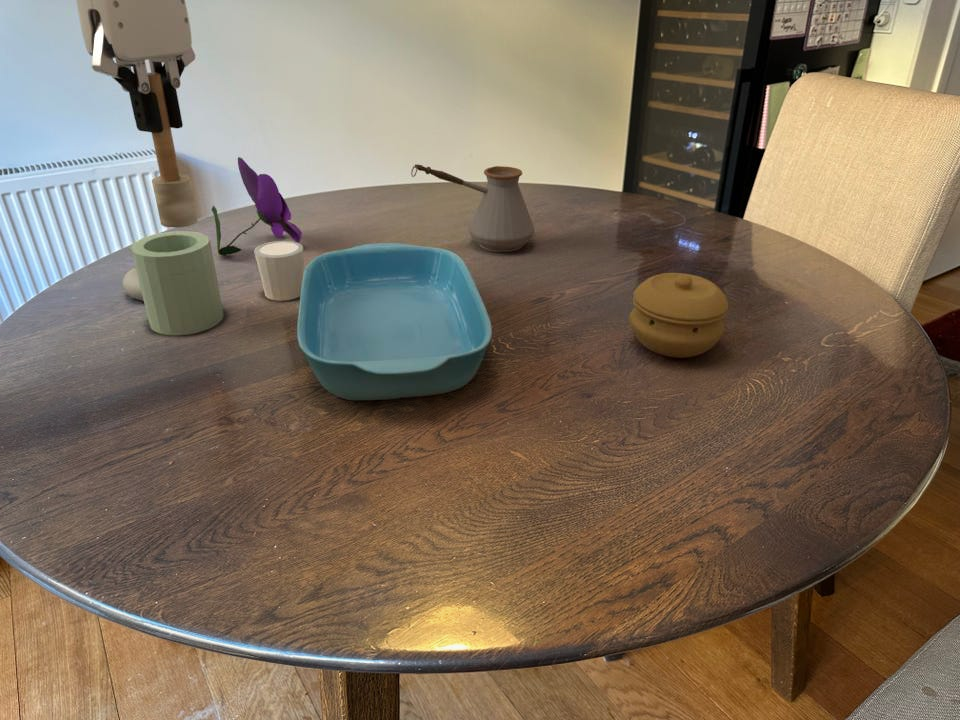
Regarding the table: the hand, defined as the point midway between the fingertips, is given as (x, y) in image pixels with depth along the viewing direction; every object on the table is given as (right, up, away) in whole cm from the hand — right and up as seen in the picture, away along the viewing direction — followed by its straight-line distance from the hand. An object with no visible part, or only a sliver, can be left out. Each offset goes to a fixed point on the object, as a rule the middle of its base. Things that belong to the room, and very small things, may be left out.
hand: (160, 127), depth 76 cm
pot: (+60, -24, +15) cm, 66 cm away
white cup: (+6, -15, +28) cm, 33 cm away
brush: (0, -9, +5) cm, 11 cm away
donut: (-12, -15, +28) cm, 34 cm away
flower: (-3, -7, +43) cm, 44 cm away
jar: (-5, -20, +20) cm, 29 cm away
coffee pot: (+34, -6, +46) cm, 57 cm away
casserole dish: (+23, -23, +15) cm, 36 cm away
